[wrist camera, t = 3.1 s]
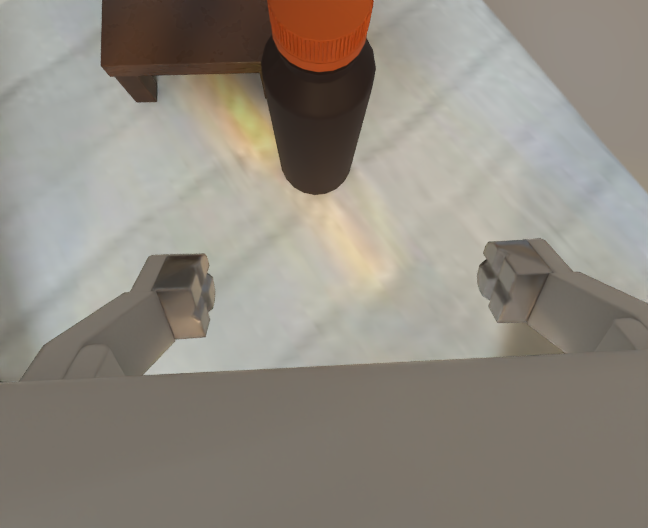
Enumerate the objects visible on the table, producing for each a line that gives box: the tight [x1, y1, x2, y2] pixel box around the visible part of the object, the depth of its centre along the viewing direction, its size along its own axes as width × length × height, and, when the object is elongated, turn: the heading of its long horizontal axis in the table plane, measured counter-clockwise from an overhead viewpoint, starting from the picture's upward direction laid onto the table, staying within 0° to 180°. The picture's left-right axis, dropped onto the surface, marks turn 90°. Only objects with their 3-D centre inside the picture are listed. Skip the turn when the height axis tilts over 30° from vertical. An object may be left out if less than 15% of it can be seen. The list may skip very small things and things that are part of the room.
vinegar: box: [261, 0, 376, 195], centre depth 27 cm, size 7×7×20 cm
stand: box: [101, 0, 272, 102], centre depth 35 cm, size 15×15×6 cm
